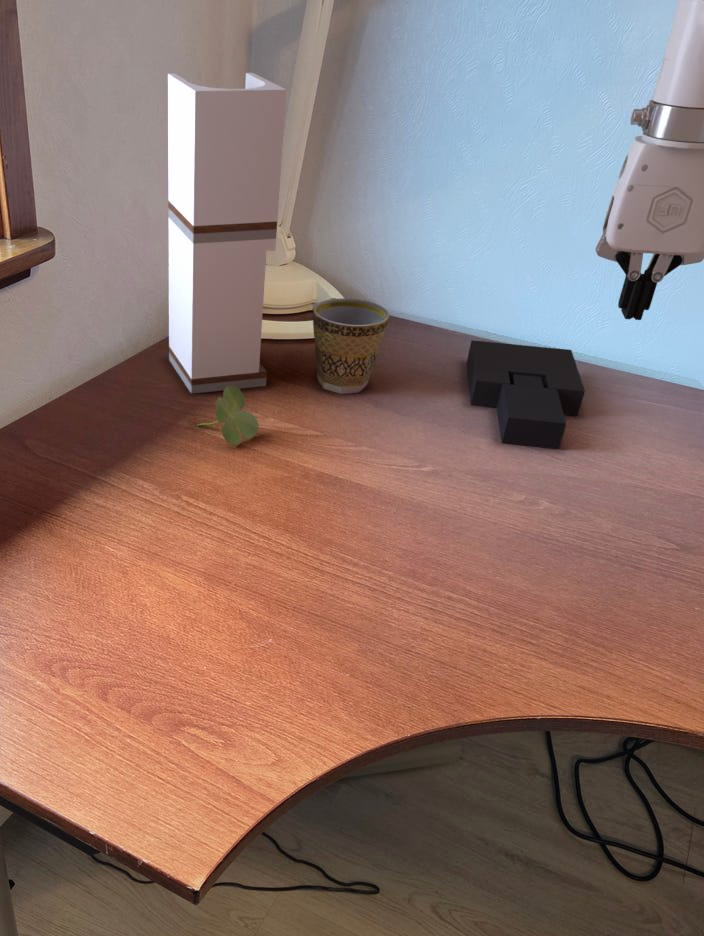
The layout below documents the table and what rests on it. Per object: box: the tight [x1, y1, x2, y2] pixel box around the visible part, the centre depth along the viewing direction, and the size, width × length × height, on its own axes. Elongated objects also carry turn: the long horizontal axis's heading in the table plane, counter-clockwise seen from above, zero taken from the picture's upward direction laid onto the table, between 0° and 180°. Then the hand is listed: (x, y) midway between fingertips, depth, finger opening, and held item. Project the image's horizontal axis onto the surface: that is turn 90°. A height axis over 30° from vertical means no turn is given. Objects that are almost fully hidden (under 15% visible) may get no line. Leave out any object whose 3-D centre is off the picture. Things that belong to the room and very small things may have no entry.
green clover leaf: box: [197, 385, 259, 446], centre depth 111 cm, size 7×8×7 cm
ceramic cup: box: [312, 297, 390, 395], centre depth 122 cm, size 13×10×10 cm
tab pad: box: [496, 374, 567, 450], centre depth 116 cm, size 7×13×4 cm, turn 170°
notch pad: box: [465, 340, 586, 417], centre depth 124 cm, size 14×14×4 cm
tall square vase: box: [167, 72, 287, 394], centre depth 114 cm, size 11×11×35 cm
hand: (630, 315), depth 98 cm, fingers closed
